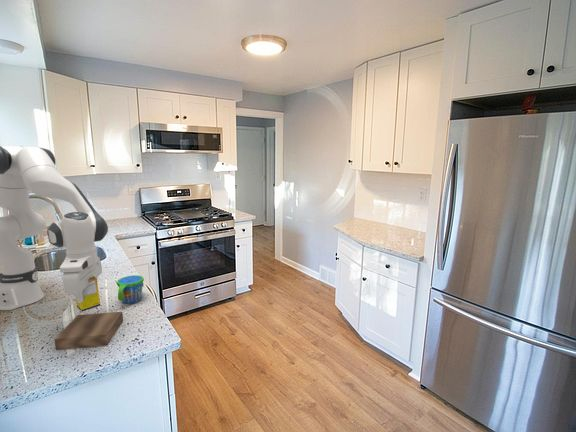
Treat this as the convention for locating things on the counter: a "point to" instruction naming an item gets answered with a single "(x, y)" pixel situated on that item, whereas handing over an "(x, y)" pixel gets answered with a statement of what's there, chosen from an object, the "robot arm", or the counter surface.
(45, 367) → the counter surface
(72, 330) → the walnut plinth
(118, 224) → the counter surface
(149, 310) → the counter surface
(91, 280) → the supplement box
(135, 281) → the snack cup
